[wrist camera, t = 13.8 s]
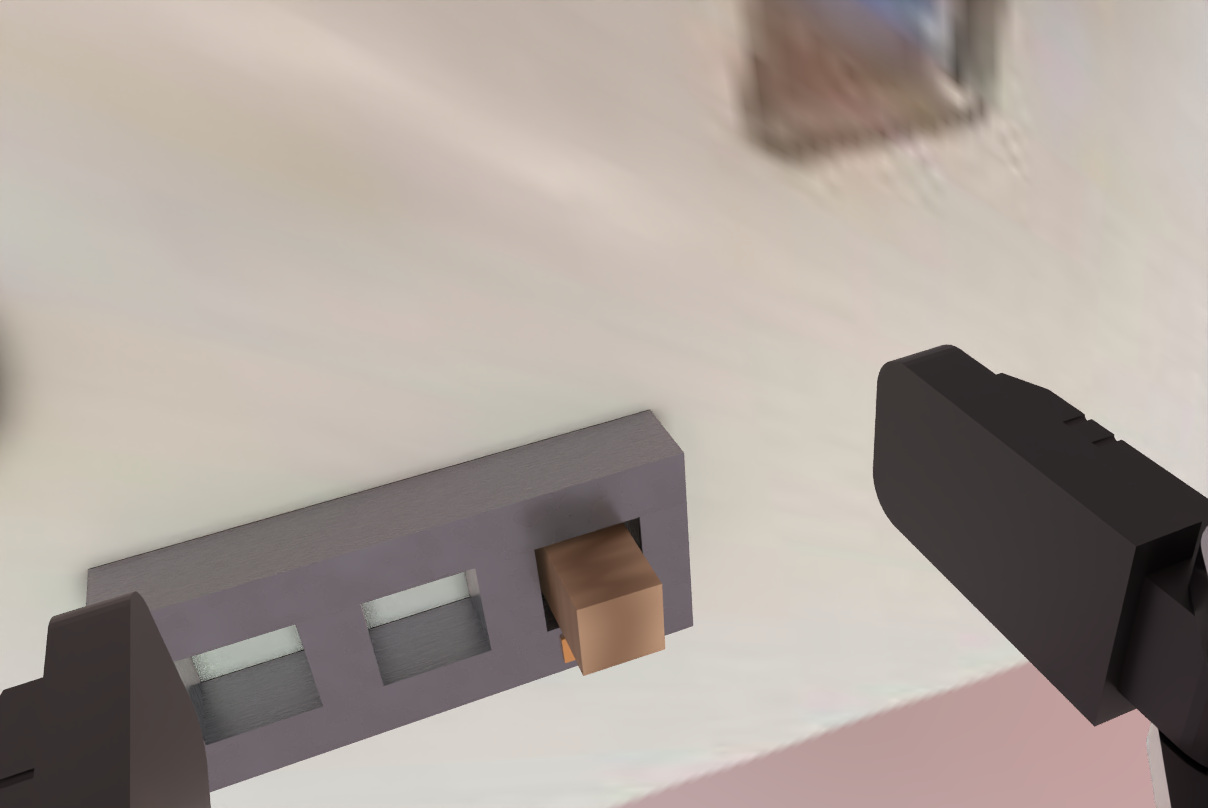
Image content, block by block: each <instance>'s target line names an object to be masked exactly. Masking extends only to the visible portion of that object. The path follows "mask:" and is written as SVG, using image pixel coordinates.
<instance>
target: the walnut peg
mask: <svg viewBox="0 0 1208 808" xmlns="http://www.w3.org/2000/svg"><path fill="white" fill-rule="evenodd" d="M534 551H535V557H536V564H537V570H538V576H539V583H540V588H541V590H542V592H543V594H544V596H545V598H546V600H547V603H548V605H549V607H550V609H551V611H552V613H553V615H554V617H555V619H556V621H557V623H558V625H559V627H560V629H561V631H562V633H563V635H564V637H565V639H566V641H567V643H568V645H569V647H570V649H571V652H572V654H573V656H574V658H575V660H576V662H577V664H578V666H579V668H580V670H581V672H582V674H583V676H585V675H588V674H591V673H594V672H597V671H600V670H603V669H606V668H609V667H612V666H615V665H618V664H621V663H624V662H627V661H630V660H633V659H636V658H639V657H642V656H645V655H649V654H652V653H655V652H658V651H661V650H664V649H665V636H664V614H663V592H662V583H661V581H660V580H659V578H658V577H657V575H656V573H655V572H654V570H653V569H652V567H651V566H650V564H649V562H648V561H647V559H646V558H645V556H644V555H643V553H642V552H641V550H640V548H639V547H638V545H637V544H636V542H635V541H634V539H633V538H632V536H631V534H630V533H629V531H628V530H627V528H626V527H625V525H624V523H623V522H622V523H619V524H615V525H612V526H609V527H606V528H603V529H599V530H596V531H593V532H590V533H587V534H583V535H580V536H577V537H574V538H571V539H567V540H564V541H561V542H558V543H554V544H551V545H548V546H545V547H542V548H538V549H535V550H534Z"/></svg>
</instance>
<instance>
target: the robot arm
mask: <svg viewBox="0 0 1208 808" xmlns="http://www.w3.org/2000/svg"><path fill="white" fill-rule="evenodd" d="M873 479H874V485H875V490H876V493H877V497H878V499H879V502H880V504H881V506H882V508H883V510H884V512H885V514H886V515H887V517H888V518H889V520H890V521H891V522H892V524H893V525H894V526H895V527H896V528H897V529H898V530H899V531H900V532H901V533H902V534H903V535H904V536H905V537H906V538H907V539H908V540H909V541H910V542H911V543H912V544H913V545H914V546H915V547H916V548H917V549H918V550H919V551H920V552H921V553H922V554H923V555H924V556H925V557H926V558H927V559H928V560H929V561H930V562H931V563H932V564H933V565H934V566H935V567H936V568H937V569H938V570H939V571H940V572H941V573H942V574H943V575H944V576H945V577H946V578H947V579H948V580H949V581H950V582H951V583H952V584H953V585H954V586H955V587H956V588H957V589H958V590H959V591H960V592H961V593H962V594H963V595H964V596H965V597H966V598H967V599H968V600H969V601H970V602H971V603H972V604H973V605H974V606H975V607H976V608H977V609H978V610H979V611H980V612H981V613H982V614H983V615H984V616H985V617H986V618H987V619H988V620H989V621H990V622H991V623H992V624H993V625H994V626H995V627H996V628H997V629H998V630H999V631H1000V632H1001V633H1002V634H1003V635H1004V636H1005V637H1006V638H1007V639H1008V640H1009V641H1010V642H1011V643H1012V644H1013V645H1014V646H1015V647H1016V648H1017V649H1018V650H1019V651H1020V652H1021V653H1022V654H1023V655H1024V656H1025V657H1026V658H1027V659H1028V660H1029V661H1030V662H1031V663H1032V664H1033V665H1034V666H1035V667H1036V668H1037V669H1038V670H1039V671H1040V672H1041V673H1042V674H1043V675H1044V676H1045V677H1046V678H1047V679H1048V680H1049V681H1050V682H1051V683H1052V684H1053V685H1054V686H1055V687H1056V688H1057V689H1058V690H1059V691H1060V692H1061V693H1062V694H1063V695H1064V696H1065V697H1066V698H1067V699H1068V700H1069V701H1070V702H1071V703H1072V704H1073V705H1074V706H1075V707H1076V708H1077V709H1078V710H1079V711H1080V712H1081V713H1082V714H1083V715H1084V716H1085V717H1086V718H1087V719H1088V720H1089V721H1090V722H1091V723H1092V724H1093V725H1094V726H1097V725H1099V724H1101V723H1103V722H1106V721H1108V720H1110V719H1113V718H1115V717H1118V716H1120V715H1122V714H1125V713H1127V712H1129V711H1132V710H1134V709H1136V708H1137V709H1138V710H1139V711H1140V712H1141V713H1142V714H1143V715H1144V716H1145V717H1146V718H1148V720H1150V721H1151V724H1150V727H1149V731H1148V735H1147V740H1146V742H1147V754H1148V760H1149V767H1150V773H1151V779H1152V787H1153V793H1154V799H1155V806H1156V808H1208V498H1206V497H1205V496H1203V495H1202V494H1200V493H1199V492H1197V491H1196V490H1194V489H1193V488H1191V487H1190V486H1189V485H1187V484H1186V483H1184V482H1183V481H1181V480H1180V479H1178V478H1177V477H1175V476H1174V475H1173V474H1171V473H1170V472H1168V471H1167V470H1165V469H1164V468H1162V467H1161V466H1159V465H1158V464H1156V463H1155V462H1154V461H1152V460H1151V459H1149V458H1148V457H1146V456H1145V455H1143V454H1142V453H1140V452H1139V451H1137V450H1136V449H1135V448H1133V447H1132V446H1130V445H1129V444H1127V443H1126V442H1124V441H1123V440H1120V441H1116V440H1115V438H1114V434H1113V433H1111V432H1110V431H1108V430H1107V429H1105V428H1104V427H1102V426H1101V425H1100V424H1098V423H1097V422H1095V421H1094V420H1092V419H1091V420H1088V421H1087V420H1086V418H1085V414H1083V413H1082V412H1081V411H1079V410H1078V409H1076V408H1075V407H1073V406H1072V405H1070V404H1069V403H1067V402H1066V401H1065V400H1063V399H1062V398H1060V397H1059V396H1057V395H1056V394H1054V393H1053V392H1051V391H1050V390H1048V389H1046V388H1043V387H1040V386H1037V385H1034V384H1032V383H1029V382H1026V381H1023V380H1020V379H1018V378H1015V377H1012V376H1009V375H1006V374H1004V373H1000V374H997V375H996V374H994V373H993V372H992V371H990V370H989V369H987V368H986V367H985V366H983V365H982V364H980V363H979V362H977V361H976V360H975V359H973V358H972V357H970V356H969V355H968V354H966V353H965V352H963V351H962V350H961V349H959V348H957V347H955V346H952V345H942V346H938V347H935V348H932V349H929V350H925V351H922V352H919V353H916V354H912V355H909V356H906V357H903V358H899V359H896V360H893V361H890V362H887V363H886V364H884V365H883V367H882V368H881V370H880V372H879V376H878V381H877V398H876V419H875V439H874V460H873ZM0 808H211V806H210V793H209V779H208V766H207V757H206V751H205V745H204V741H203V736H202V732H201V728H200V725H199V721H198V718H197V715H196V712H195V709H194V706H193V704H192V701H191V699H190V697H189V694H188V692H187V690H186V688H185V686H184V684H183V682H182V679H181V677H180V675H179V673H178V671H177V669H176V666H175V664H174V662H173V660H172V658H171V656H170V654H169V651H168V649H167V647H166V645H165V643H164V641H163V638H162V636H161V634H160V632H159V630H158V628H157V626H156V623H155V621H154V619H153V617H152V615H151V613H150V610H149V608H148V606H147V604H146V603H145V601H144V599H143V598H142V596H141V595H140V594H139V593H138V592H136V591H134V592H131V593H128V594H125V595H121V596H118V597H115V598H111V599H108V600H105V601H102V602H98V603H95V604H92V605H89V606H85V607H82V608H79V609H76V610H72V611H69V612H66V613H63V614H59V615H56V616H54V617H52V618H51V620H50V622H49V626H48V634H47V645H46V655H45V665H44V675H43V678H40V679H37V680H34V681H30V682H27V683H24V684H21V685H18V686H15V687H12V688H9V689H5V690H3V692H2V693H1V695H0Z"/></svg>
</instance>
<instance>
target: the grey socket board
mask: <svg viewBox="0 0 1208 808" xmlns="http://www.w3.org/2000/svg"><path fill="white" fill-rule="evenodd" d="M622 522H623V523H624V525H625V527H626V528H627V530H628V531H629V533H630V534H631V536H632V538H633V539H634V541H635V542H636V544H637V545H638V547H639V548H640V550H641V552H642V553H643V555H644V556H645V558H646V559H647V561H648V562H649V564H650V566H651V567H652V569H653V570H654V572H655V573H656V575H657V577H658V578H659V580H660V581H661V583H662V592H663V614H664V636H665V635H668V634H671V633H674V632H677V631H680V630H682V629H685V628H688V627H691V626H693V614H692V595H691V576H690V558H689V539H688V520H687V501H686V482H685V464H684V452H683V451H682V450H681V448H680V447H679V446H678V445H677V443H676V442H675V441H674V440H673V438H672V437H671V436H670V435H669V433H668V432H667V431H666V430H665V428H664V427H663V426H662V425H661V423H660V422H659V421H658V420H657V418H656V417H655V416H654V414H653V413H652V412H651V411H650V410H648V411H645V412H641V413H638V414H634V415H631V416H627V417H624V418H620V419H617V420H613V421H610V422H606V423H603V424H599V425H596V426H592V427H588V428H585V429H581V430H578V431H574V432H571V433H567V434H564V435H560V436H557V437H553V438H550V439H546V440H543V441H539V442H536V443H532V444H529V445H525V446H522V447H518V448H515V449H511V450H508V451H504V452H500V453H497V454H493V455H490V456H486V457H483V458H479V459H476V460H472V461H469V462H465V463H462V464H458V465H455V466H451V467H448V468H444V469H441V470H437V471H434V472H430V473H427V474H423V475H420V476H416V477H412V478H409V479H405V480H402V481H398V482H395V483H391V484H388V485H384V486H381V487H377V488H374V489H370V490H367V491H363V492H360V493H356V494H353V495H349V496H346V497H342V498H339V499H335V500H332V501H328V502H324V503H321V504H317V505H314V506H310V507H307V508H303V509H300V510H296V511H293V512H289V513H286V514H282V515H279V516H275V517H272V518H268V519H265V520H261V521H258V522H254V523H251V524H247V525H244V526H240V527H236V528H233V529H229V530H226V531H222V532H219V533H215V534H212V535H208V536H205V537H201V538H198V539H194V540H191V541H187V542H184V543H180V544H177V545H173V546H170V547H166V548H163V549H159V550H155V551H152V552H148V553H145V554H141V555H138V556H134V557H131V558H127V559H124V560H120V561H117V562H113V563H110V564H106V565H103V566H99V567H96V568H92V569H89V570H88V583H87V600H86V606H89V605H92V604H95V603H98V602H102V601H105V600H108V599H111V598H115V597H118V596H121V595H125V594H128V593H131V592H134V591H136V592H138V593H139V594H140V595H141V596H142V598H143V599H144V601H145V603H146V604H147V606H148V608H149V610H150V613H151V615H152V617H153V619H154V621H155V623H156V626H157V628H158V630H159V632H160V634H161V636H162V638H163V641H164V643H165V645H166V647H167V649H168V651H169V654H170V656H171V658H172V660H173V662H174V664H175V666H176V669H177V671H178V673H179V675H180V677H181V679H182V682H183V684H184V686H185V688H186V690H187V692H188V694H189V697H190V699H191V701H192V704H193V706H194V709H195V712H196V715H197V718H198V721H199V725H200V728H201V732H202V736H203V741H204V745H205V751H206V757H207V766H208V779H209V792H212V791H215V790H218V789H221V788H224V787H227V786H230V785H232V784H235V783H238V782H241V781H244V780H247V779H250V778H253V777H256V776H259V775H261V774H264V773H267V772H270V771H273V770H276V769H279V768H282V767H285V766H288V765H291V764H293V763H296V762H299V761H302V760H305V759H308V758H311V757H314V756H317V755H320V754H322V753H325V752H328V751H331V750H334V749H337V748H340V747H343V746H346V745H349V744H351V743H354V742H357V741H360V740H363V739H366V738H369V737H372V736H375V735H378V734H381V733H383V732H386V731H389V730H392V729H395V728H398V727H401V726H404V725H407V724H410V723H412V722H415V721H418V720H421V719H424V718H427V717H430V716H433V715H436V714H439V713H441V712H444V711H447V710H450V709H453V708H456V707H459V706H462V705H465V704H468V703H471V702H473V701H476V700H479V699H482V698H485V697H488V696H491V695H494V694H497V693H500V692H502V691H505V690H508V689H511V688H514V687H517V686H520V685H523V684H526V683H529V682H531V681H534V680H537V679H540V678H543V677H546V676H549V675H552V674H555V673H558V672H561V671H563V670H566V669H569V668H572V667H575V666H578V664H577V662H576V660H575V658H574V656H573V654H572V652H571V649H570V647H569V645H568V643H567V641H566V639H565V637H564V635H563V633H562V631H561V629H560V627H559V625H558V623H557V621H556V619H555V617H554V615H553V613H552V611H551V609H550V607H549V605H548V603H547V600H546V598H545V596H544V594H543V592H542V590H541V588H540V583H539V576H538V570H537V564H536V557H535V551H534V550H535V549H538V548H542V547H545V546H548V545H551V544H554V543H558V542H561V541H564V540H567V539H571V538H574V537H577V536H580V535H583V534H587V533H590V532H593V531H596V530H599V529H603V528H606V527H609V526H612V525H615V524H619V523H622ZM464 571H465V575H466V579H467V584H468V589H469V594H470V598H466V599H463V600H460V601H457V602H454V603H451V604H448V605H444V606H441V607H438V608H435V609H432V610H429V611H426V612H422V613H419V614H416V615H413V616H410V617H407V618H404V619H400V620H397V621H394V622H391V623H388V624H385V625H382V626H378V627H375V628H372V629H369V630H368V626H367V623H366V619H365V616H364V612H363V609H362V605H361V604H362V603H365V602H368V601H371V600H374V599H378V598H381V597H384V596H387V595H391V594H394V593H397V592H400V591H403V590H407V589H410V588H413V587H416V586H419V585H423V584H426V583H429V582H432V581H436V580H439V579H442V578H445V577H448V576H452V575H455V574H458V573H461V572H464ZM294 624H296V627H297V630H298V633H299V636H300V639H301V642H302V645H303V648H304V650H303V651H300V652H297V653H293V654H290V655H287V656H284V657H281V658H278V659H275V660H271V661H268V662H265V663H262V664H259V665H256V666H253V667H249V668H246V669H243V670H240V671H237V672H234V673H231V674H227V675H224V676H221V677H218V678H215V679H212V680H209V681H205V682H202V683H201V680H200V678H199V676H198V673H197V671H196V669H195V666H194V664H193V661H192V659H191V656H195V655H198V654H201V653H204V652H207V651H211V650H214V649H217V648H220V647H223V646H227V645H230V644H233V643H236V642H240V641H243V640H246V639H249V638H252V637H256V636H259V635H262V634H265V633H268V632H272V631H275V630H278V629H281V628H285V627H288V626H291V625H294Z"/></svg>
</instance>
